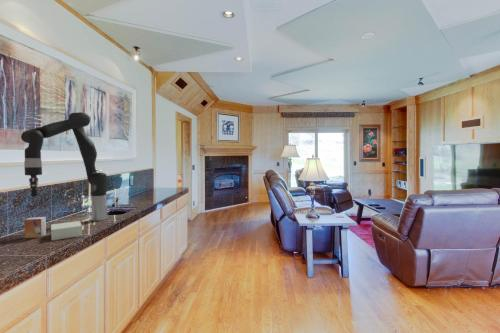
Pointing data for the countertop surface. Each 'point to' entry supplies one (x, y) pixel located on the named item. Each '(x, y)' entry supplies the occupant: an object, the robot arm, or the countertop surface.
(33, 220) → the small box
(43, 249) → the countertop surface
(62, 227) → the block
